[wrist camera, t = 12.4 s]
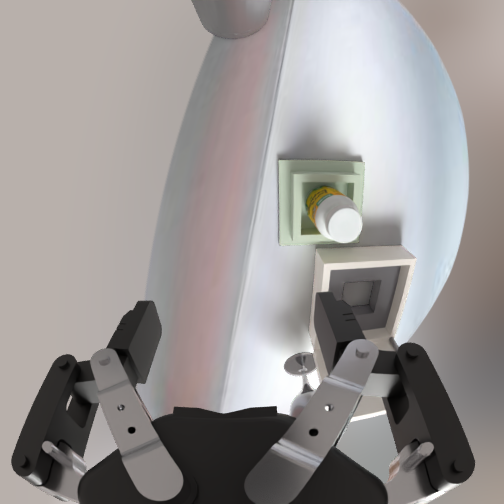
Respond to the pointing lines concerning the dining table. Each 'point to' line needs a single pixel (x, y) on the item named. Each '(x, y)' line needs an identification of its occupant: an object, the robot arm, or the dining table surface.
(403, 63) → the dining table surface
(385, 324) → the case
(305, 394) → the wine glass
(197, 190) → the dining table surface
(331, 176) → the sage holder
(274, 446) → the robot arm
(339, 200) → the supplement bottle
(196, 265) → the dining table surface
